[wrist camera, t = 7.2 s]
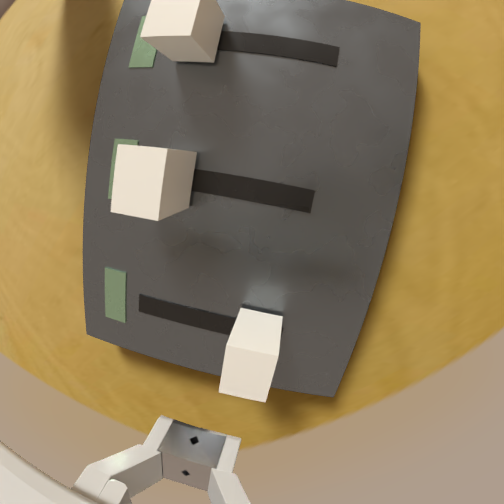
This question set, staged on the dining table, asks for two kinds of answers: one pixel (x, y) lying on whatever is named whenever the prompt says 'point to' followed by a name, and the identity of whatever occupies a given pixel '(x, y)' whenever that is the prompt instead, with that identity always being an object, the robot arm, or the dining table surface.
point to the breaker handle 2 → (251, 355)
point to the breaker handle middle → (152, 181)
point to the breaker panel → (254, 183)
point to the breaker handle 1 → (184, 29)
